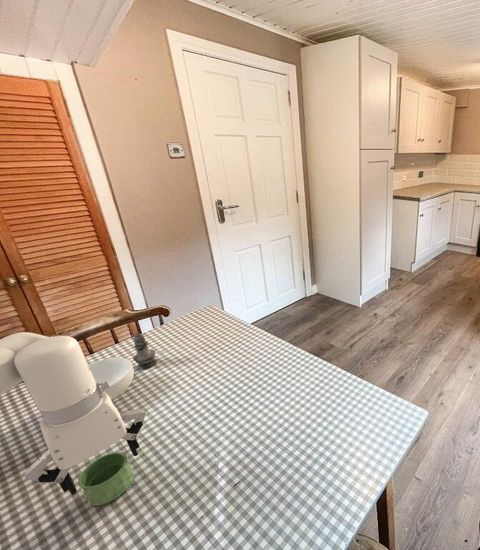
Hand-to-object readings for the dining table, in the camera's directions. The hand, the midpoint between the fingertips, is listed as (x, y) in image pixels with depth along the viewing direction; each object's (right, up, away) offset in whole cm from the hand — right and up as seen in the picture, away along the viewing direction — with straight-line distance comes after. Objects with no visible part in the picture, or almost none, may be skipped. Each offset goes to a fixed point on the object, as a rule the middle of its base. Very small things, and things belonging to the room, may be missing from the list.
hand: (105, 469), depth 60 cm
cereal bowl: (-23, +4, +25) cm, 34 cm away
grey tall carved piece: (-19, +9, +38) cm, 44 cm away
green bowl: (0, -5, +2) cm, 5 cm away
